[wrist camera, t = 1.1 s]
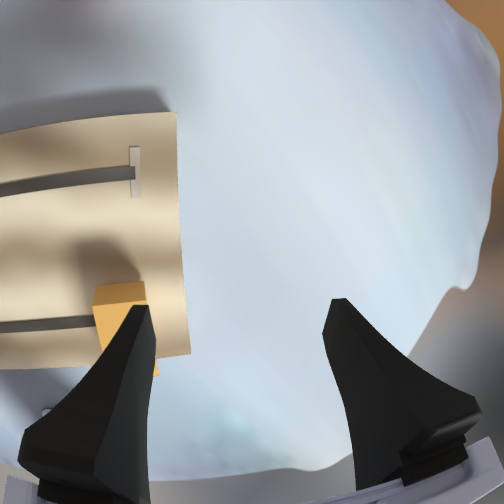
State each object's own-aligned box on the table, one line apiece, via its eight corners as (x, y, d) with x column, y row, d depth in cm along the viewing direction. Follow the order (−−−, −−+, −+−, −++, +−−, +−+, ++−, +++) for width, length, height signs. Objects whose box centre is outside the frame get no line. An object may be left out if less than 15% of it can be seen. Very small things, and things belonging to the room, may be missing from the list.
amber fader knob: (155, 349, 20) (158, 375, 18) (112, 354, 20) (110, 381, 17) (144, 280, 19) (145, 300, 16) (97, 285, 18) (91, 306, 15)
